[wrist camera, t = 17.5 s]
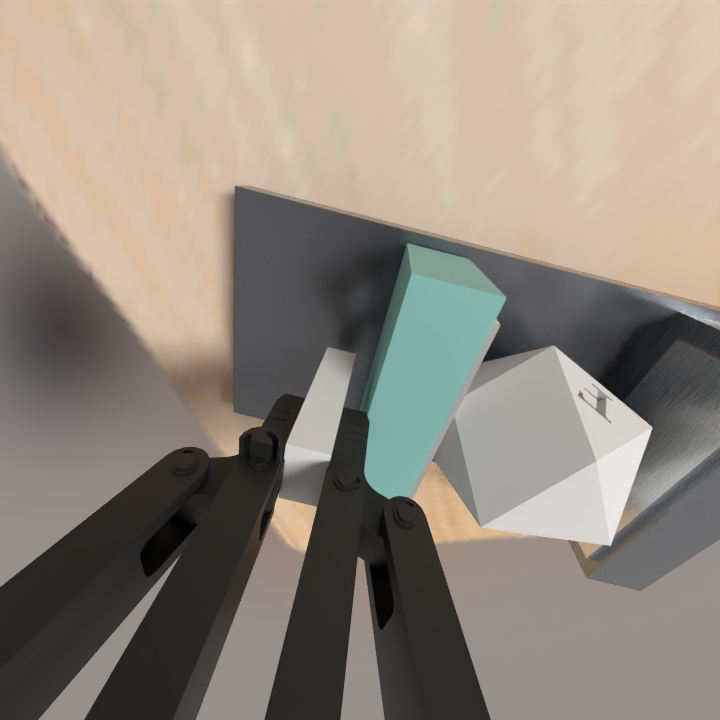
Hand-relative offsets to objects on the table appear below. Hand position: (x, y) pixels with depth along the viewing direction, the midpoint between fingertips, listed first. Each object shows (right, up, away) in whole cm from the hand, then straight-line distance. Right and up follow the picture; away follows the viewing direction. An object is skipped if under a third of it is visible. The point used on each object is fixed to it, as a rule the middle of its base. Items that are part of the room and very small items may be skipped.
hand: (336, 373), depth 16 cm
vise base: (+7, 0, +3) cm, 7 cm away
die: (+10, -1, +3) cm, 10 cm away
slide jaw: (+4, 0, +2) cm, 4 cm away
